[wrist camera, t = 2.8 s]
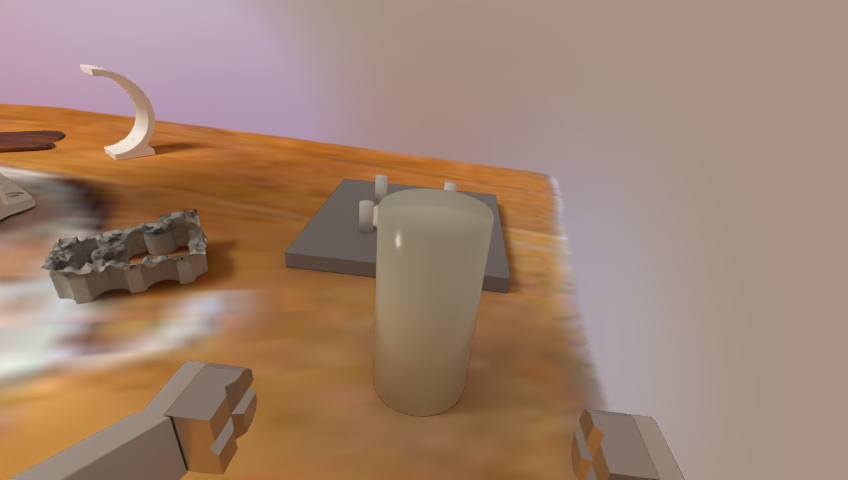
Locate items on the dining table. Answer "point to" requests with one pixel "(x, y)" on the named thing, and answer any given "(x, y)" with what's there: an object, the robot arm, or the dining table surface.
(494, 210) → the peg stand
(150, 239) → the egg carton
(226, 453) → the robot arm
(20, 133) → the wooden tablet
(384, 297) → the canister
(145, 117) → the headphone stand
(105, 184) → the dining table surface
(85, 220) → the dining table surface
